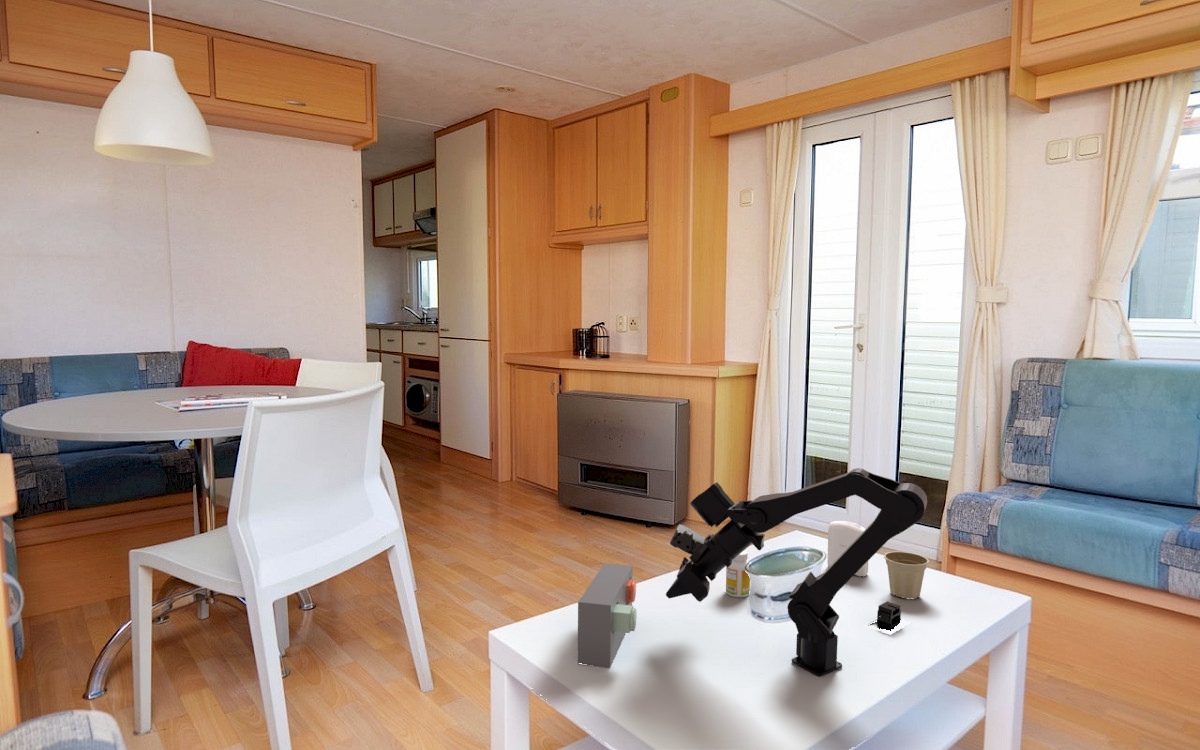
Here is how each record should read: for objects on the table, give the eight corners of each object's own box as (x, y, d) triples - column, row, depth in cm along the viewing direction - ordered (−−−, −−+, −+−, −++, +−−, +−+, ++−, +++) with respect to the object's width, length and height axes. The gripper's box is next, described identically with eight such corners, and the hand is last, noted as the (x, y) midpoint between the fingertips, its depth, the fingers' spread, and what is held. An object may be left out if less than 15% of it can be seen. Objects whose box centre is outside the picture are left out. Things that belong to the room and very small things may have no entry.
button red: (635, 597, 142) (636, 578, 142) (632, 605, 139) (632, 585, 138) (613, 595, 144) (614, 576, 143) (609, 603, 140) (609, 583, 139)
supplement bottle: (748, 589, 162) (749, 548, 162) (751, 598, 157) (752, 556, 156) (724, 588, 163) (725, 547, 162) (726, 597, 157) (727, 555, 157)
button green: (636, 625, 129) (636, 604, 129) (632, 635, 125) (632, 613, 125) (612, 623, 130) (612, 602, 130) (607, 632, 126) (607, 610, 126)
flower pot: (873, 589, 163) (875, 553, 163) (906, 585, 166) (908, 549, 165) (902, 605, 154) (903, 566, 154) (936, 600, 157) (938, 562, 156)
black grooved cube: (890, 642, 138) (890, 619, 137) (855, 630, 143) (856, 607, 143) (919, 624, 146) (920, 602, 145) (885, 613, 151) (886, 592, 151)
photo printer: (824, 566, 178) (826, 519, 177) (834, 563, 181) (836, 516, 180) (860, 578, 170) (862, 528, 169) (870, 575, 173) (872, 525, 172)
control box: (631, 619, 145) (632, 565, 144) (610, 668, 125) (610, 605, 124) (603, 616, 146) (604, 563, 146) (577, 664, 126) (578, 602, 125)
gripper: (701, 502, 143) (647, 550, 147) (689, 527, 125) (628, 581, 129) (740, 542, 142) (684, 590, 145) (733, 574, 124) (670, 628, 127)
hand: (667, 595), depth 137 cm, fingers closed
